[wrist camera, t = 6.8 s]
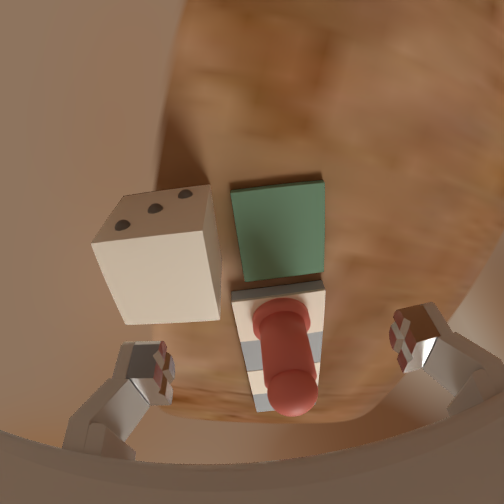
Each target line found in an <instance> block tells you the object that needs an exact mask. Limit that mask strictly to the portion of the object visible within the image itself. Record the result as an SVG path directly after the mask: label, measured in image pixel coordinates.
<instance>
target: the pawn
mask: <svg viewBox="0 0 504 504" xmlns="http://www.w3.org/2000/svg"><path fill="white" fill-rule="evenodd" d="M252 322H253V332H254V334H255V336H256V337H257V338H258V339H259V340H260V343H261V353H262V364H263V374H264V384H265V387H266V388H267V389H268V390H267V396H268V400H269V403H270V405H271V406H272V408H273V409H274V410H275V411H277V412H278V413H280V414H282V415H285V416H299V415H302V414H304V413H306V412H307V411H309V410H310V409H311V408H312V407H313V405H314V404H315V402H316V400H317V397H318V386H317V383H316V378H317V373H316V369H315V364H314V360H313V356H312V351H311V347H310V343H309V339H308V334H307V332H308V330H309V328H310V325H311V320H310V317H309V313H308V309H307V307H306V306H305V305H304V304H303V303H302V302H300V301H298V300H296V299H292V298H276V299H272V300H269V301H267V302H265V303H263V304H262V305H260V306H259V307H258V308H257V309H256V311H255V312H254V314H253V318H252Z"/></svg>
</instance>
